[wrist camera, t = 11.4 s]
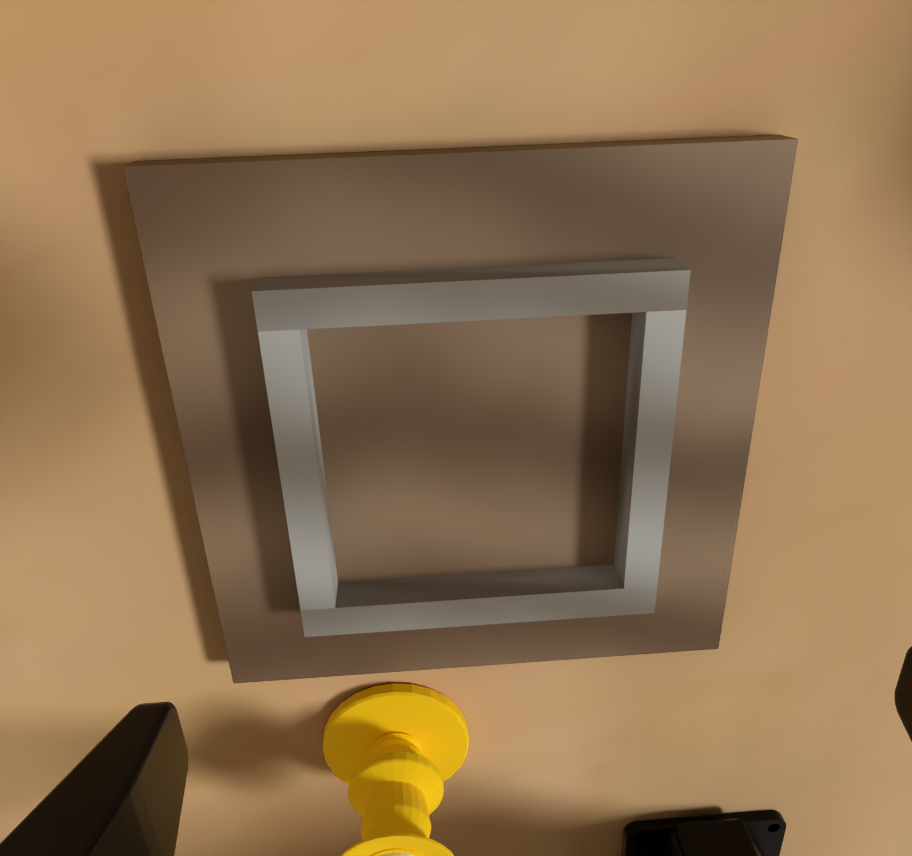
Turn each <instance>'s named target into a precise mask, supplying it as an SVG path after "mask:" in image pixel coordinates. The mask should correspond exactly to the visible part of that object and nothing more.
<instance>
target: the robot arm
mask: <svg viewBox="0 0 912 856" xmlns="http://www.w3.org/2000/svg"><path fill="white" fill-rule="evenodd" d="M895 705H896V708H897V712H898V714H899V716H900V718H901V720H902V723H903V725H904V727H905V729H906V731H907V733H908V735H909V737H910V739H911V741H912V647H911V648H909V649H908V651H907V653H906V656H905V660H904V663H903V666H902V669H901V673H900V676H899V679H898V683H897V686H896V689H895ZM187 771H188V750H187V746H186V742H185V739H184V735H183V731H182V728H181V724H180V720H179V717H178V713H177V710H176V708H175V706H174V705H173V704H172V703H170V702H158V703H145V704H140V705H137V706H136V707H134V708H133V709H132V710H131V711H130V712H129V713H128V714H127V715H126V716H125V717H124V718H123V719H122V720H121V721H120V722H119V723H118V724H117V725H116V726H115V727H114V728H113V729H112V730H111V731H110V732H109V733H108V734H107V735H106V736H105V737H104V738H103V739H102V740H101V741H100V742H99V743H98V744H97V745H96V746H95V747H94V748H93V749H92V750H91V751H90V752H89V753H88V754H87V755H86V756H85V758H84V759H83V760H82V761H81V762H80V763H79V764H78V765H77V766H76V767H75V768H74V769H73V770H72V771H71V772H70V773H69V774H68V775H67V776H66V777H65V778H64V779H63V780H62V781H61V782H60V783H59V784H58V785H57V786H56V787H55V788H54V789H53V790H52V791H51V792H50V793H49V794H48V795H47V796H46V797H45V798H44V799H43V800H42V801H41V802H40V803H39V804H38V805H37V807H36V808H35V809H34V810H33V811H32V812H31V813H30V814H29V815H28V816H27V817H26V818H25V819H24V820H23V821H22V822H21V823H20V824H19V825H18V826H17V827H16V828H15V829H14V830H13V831H12V832H11V833H10V834H9V835H8V836H7V837H6V838H5V839H4V840H3V841H2V842H1V843H0V856H174V853H175V847H176V840H177V834H178V828H179V821H180V815H181V809H182V803H183V796H184V790H185V784H186V777H187ZM785 829H786V823H785V821H784V819H783V817H782V815H781V814H780V813H779V812H777V811H762V812H750V813H738V814H725V815H713V816H701V817H688V818H676V819H664V820H652V821H639V822H633V823H631V824H629V825H627V826H626V827H625V829H624V834H623V844H622V854H621V856H779V854H780V850H781V846H782V842H783V838H784V833H785Z"/></svg>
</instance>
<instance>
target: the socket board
mask: <svg viewBox="0 0 912 856" xmlns="http://www.w3.org/2000/svg"><path fill="white" fill-rule="evenodd" d="M797 143H798V139H796V138H792V137H787V136H783V135H763V136H739V137H715V138H690V139H666V140H641V141H617V142H593V143H568V144H544V145H520V146H495V147H471V148H447V149H422V150H398V151H374V152H349V153H325V154H300V155H276V156H252V157H227V158H203V159H179V160H154V161H136V162H133V163H131V164H129V165H126V166H124V167H123V170H124V174H125V179H126V184H127V188H128V193H129V198H130V202H131V207H132V212H133V216H134V221H135V226H136V230H137V235H138V240H139V244H140V249H141V254H142V258H143V263H144V268H145V272H146V277H147V282H148V286H149V291H150V296H151V300H152V305H153V310H154V314H155V319H156V324H157V328H158V333H159V338H160V342H161V347H162V352H163V356H164V361H165V366H166V370H167V375H168V380H169V384H170V389H171V394H172V398H173V403H174V408H175V412H176V417H177V422H178V426H179V431H180V436H181V440H182V445H183V450H184V454H185V459H186V464H187V468H188V473H189V478H190V482H191V487H192V492H193V497H194V501H195V506H196V511H197V515H198V520H199V525H200V529H201V534H202V539H203V543H204V548H205V553H206V557H207V562H208V567H209V571H210V576H211V581H212V585H213V590H214V595H215V599H216V604H217V609H218V613H219V618H220V623H221V627H222V632H223V637H224V641H225V646H226V651H227V655H228V660H229V665H230V669H231V674H232V679H233V683H246V682H260V681H274V680H288V679H302V678H316V677H330V676H344V675H358V674H372V673H386V672H400V671H414V670H428V669H442V668H456V667H470V666H484V665H498V664H512V663H526V662H540V661H554V660H568V659H582V658H596V657H610V656H624V655H638V654H652V653H666V652H680V651H694V650H708V649H718V647H719V641H720V634H721V628H722V621H723V615H724V609H725V602H726V596H727V590H728V583H729V577H730V570H731V564H732V558H733V551H734V545H735V538H736V532H737V526H738V519H739V513H740V507H741V500H742V494H743V487H744V481H745V475H746V468H747V462H748V455H749V449H750V443H751V436H752V430H753V424H754V417H755V411H756V404H757V398H758V392H759V385H760V379H761V372H762V366H763V360H764V353H765V347H766V341H767V334H768V328H769V321H770V315H771V309H772V302H773V296H774V289H775V283H776V277H777V270H778V264H779V257H780V251H781V245H782V238H783V232H784V226H785V219H786V213H787V206H788V200H789V194H790V187H791V181H792V174H793V168H794V162H795V155H796V149H797Z"/></svg>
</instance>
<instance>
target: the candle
mask: <svg viewBox="0 0 912 856" xmlns="http://www.w3.org/2000/svg"><path fill="white" fill-rule="evenodd" d="M468 745H469V735H468V729H467V724H466V719H465V718H464V716H463V714H462V713H461V711H460V709H459V708H458V707H457V706H456V705H455V704H454V703H453V702H452V701H451V700H449V699H448V698H447V697H446V696H444V695H442V694H440V693H438V692H436V691H434V690H432V689H430V688H426V687H422V686H418V685H414V684H399V683H391V684H385V685H379V686H373V687H371V688H368V689H365V690H363V691H360V692H358V693H355V694H354V695H352V696H351V697H349V698H348V699H346V700H345V701H343V702H342V703H341V704H340V705H339V706H338V707H337V708H336V709H335V710H334V712H333V713H332V714H331V715H330V717H329V719H328V722H327V724H326V726H325V728H324V738H323V753H324V756H325V759H326V763H327V765H328V766H329V767H330V769H331V770H332V771H333V773H334V774H335V775H336V776H337V777H338V778H339V779H341V780H342V781H343V782H345V783H346V784H347V785H349V790H348V798H349V801H350V804H351V806H352V807H353V808H354V810H355V811H356V812H357V813H358V814H359V815H361V816H362V817H363V818H362V822H361V830H360V832H361V836H362V839H363V841H360V842H358V843H357V844H355V845H353V846H352V847H350V848H348V849H347V850H346V851H345V852H344V853H343V854H342V855H341V856H454V855H453V853H452V852H451V851H450V850H449V849H447V848H446V847H445V846H443V845H442V844H441V843H439V842H437V841H434V840H432V839H429V836H430V832H431V822H430V818H429V815H430V814H431V813H432V812H433V811H434V810H435V809H436V808H437V807H438V805H439V804H440V802H441V800H442V798H443V792H444V784H443V782H444V781H446V780H447V779H449V778H450V777H451V776H452V775H453V774H454V773H455V772H456V771H457V770H458V769H459V768H460V766H461V765H462V763H463V761H464V759H465V757H466V756H467V751H468Z"/></svg>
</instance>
